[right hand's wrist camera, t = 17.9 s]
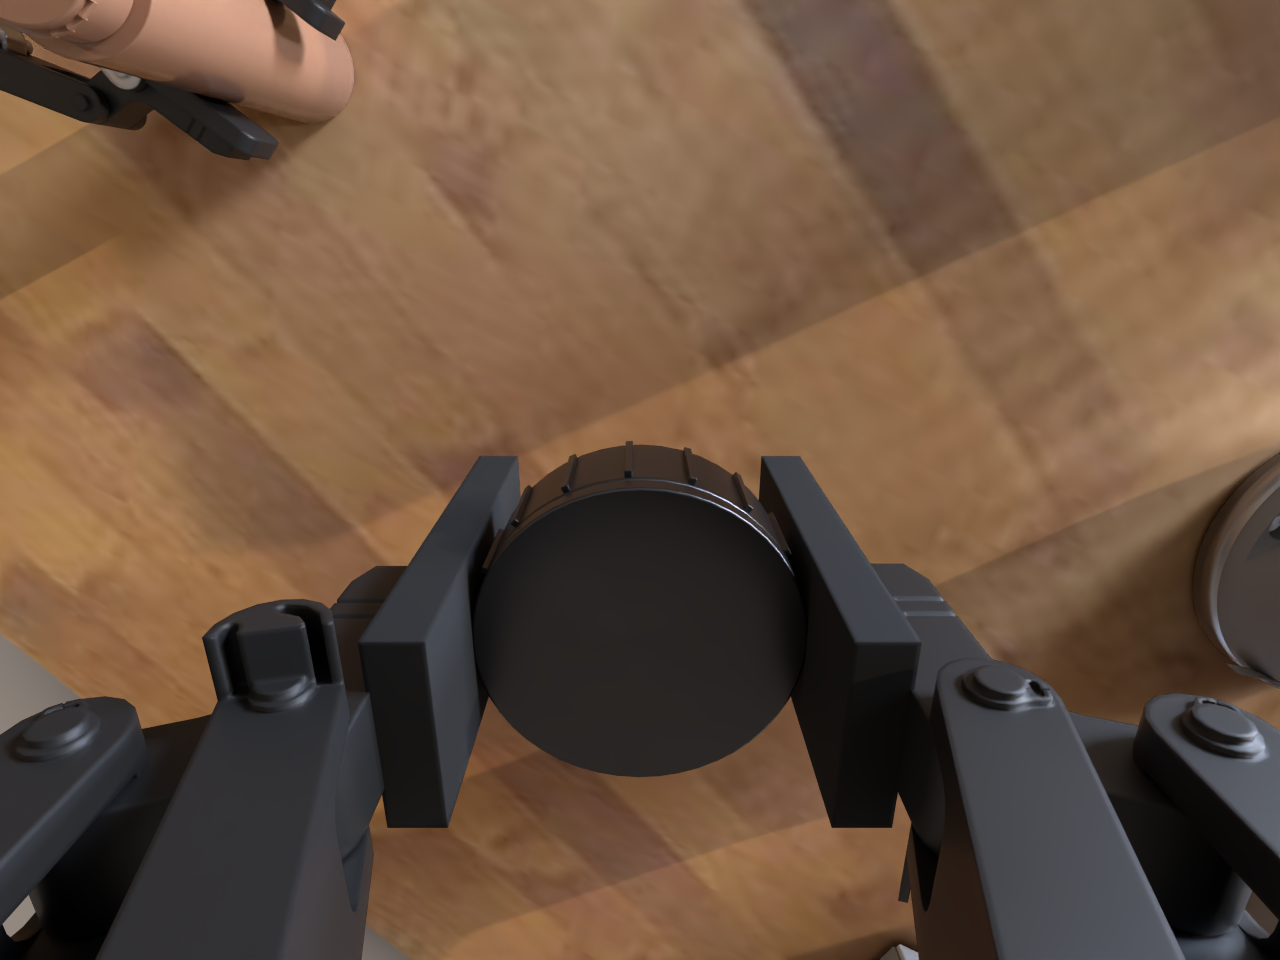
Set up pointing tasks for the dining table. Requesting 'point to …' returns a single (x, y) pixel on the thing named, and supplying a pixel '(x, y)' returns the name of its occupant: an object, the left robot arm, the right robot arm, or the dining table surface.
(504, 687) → the lid
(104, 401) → the dining table surface
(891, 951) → the hard drive box
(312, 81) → the jar
